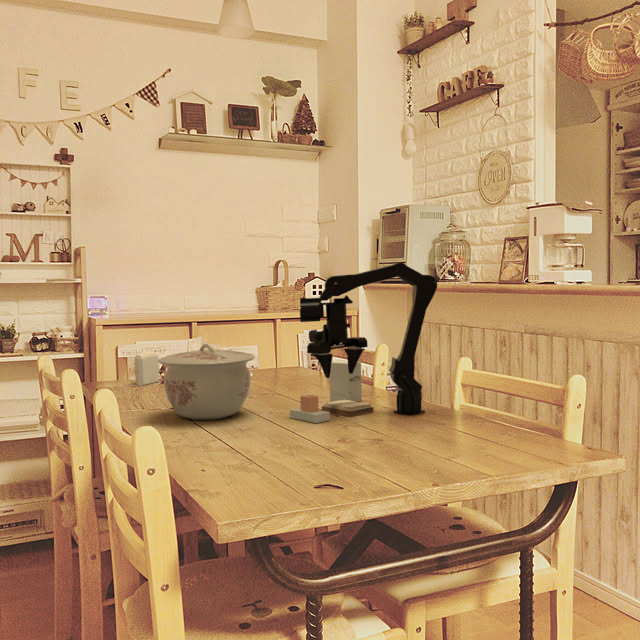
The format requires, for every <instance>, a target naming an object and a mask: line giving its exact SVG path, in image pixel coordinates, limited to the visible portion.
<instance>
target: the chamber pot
mask: <svg viewBox="0 0 640 640" xmlns="http://www.w3.org/2000/svg"><path fill="white" fill-rule="evenodd" d="M255 358H256V356H255V355H253V354H251V353H247V352H243V351H237V350H230V349H229V350H228V349H227V350H226V349H214V348H213V347H212V345H210V344H208V343H205V344H203V345H201V347H200V348H199V349H198V350H192V351H185V352H184V351H183V352H178V353H173V354H169V355H166V356H163V357H161V358H158V362H159V365H160V364H161V365H166V368H167V370H166V372H165V374H164V375H163V388H164V391H165V395H166V399H167V401H168V402H169V403H170V405H171V407H172V408H173V410H174V411H175V413H176V414H177V415H178V416H180V417H183V418H186V419H189V420H193V421H215V420H222V419H226V418H229V417H231V416H233V415H236V414H238V412H240V410H241V409H242V407H243V406H244V403H246V400H247V398H248V397H249V395H250V388H251V384H252V383H251V381H252V380H251V378H252V375H251V374H252V373H251V372H250V369H249V368H248V367H247V364H248V362H251V361H253V360H254V359H255Z"/></svg>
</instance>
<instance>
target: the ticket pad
mask: <svg viewBox="0 0 640 640" xmlns="http://www.w3.org/2000/svg"><path fill="white" fill-rule="evenodd" d="M321 411H326V412H330V414H333V415H338V416H343V417H346V418H347V417H348V418H354V417H357V416H363V415H367V414H372V413H374V407H373V406H372V404H371V403H365V402H362V401H358V402H356V401H350V400H339V401H334V402H330V401H329V402H324V403H323V405H321Z"/></svg>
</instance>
